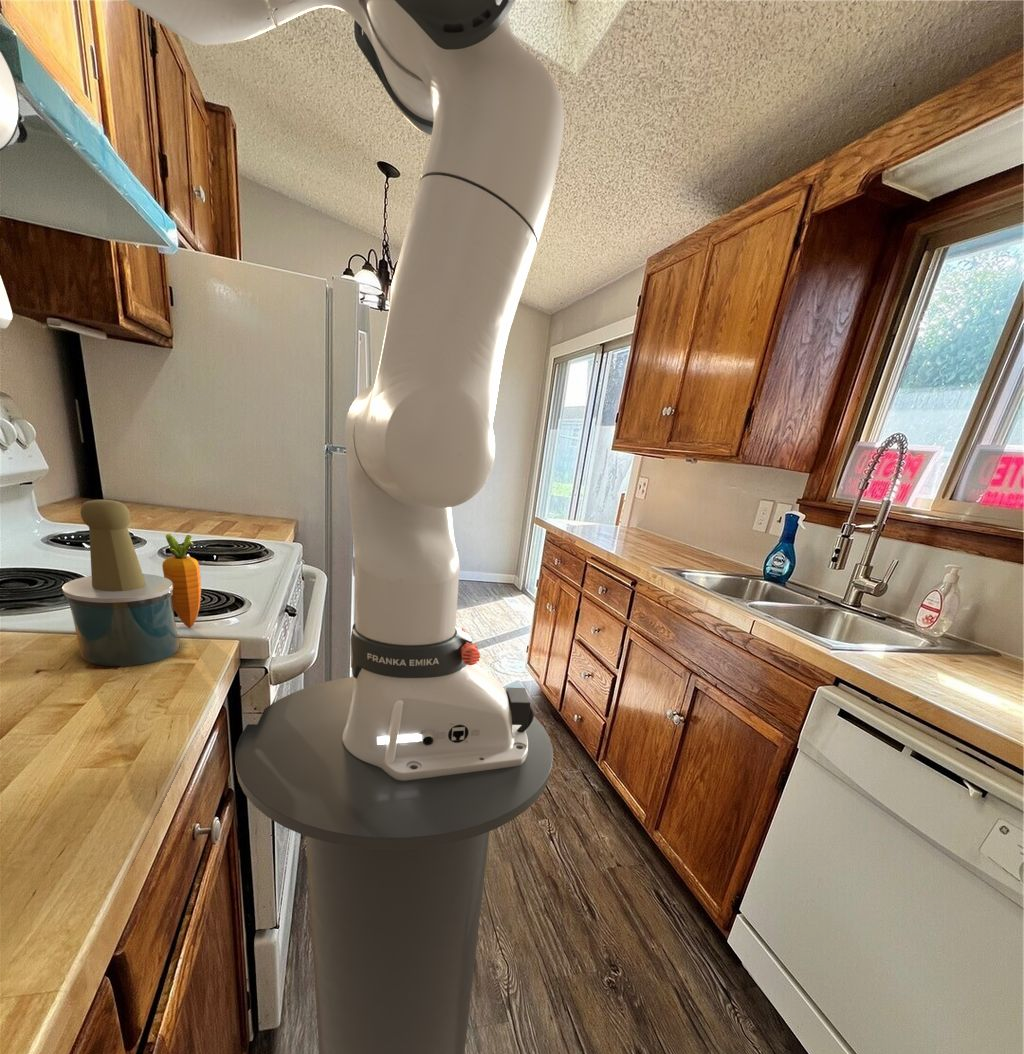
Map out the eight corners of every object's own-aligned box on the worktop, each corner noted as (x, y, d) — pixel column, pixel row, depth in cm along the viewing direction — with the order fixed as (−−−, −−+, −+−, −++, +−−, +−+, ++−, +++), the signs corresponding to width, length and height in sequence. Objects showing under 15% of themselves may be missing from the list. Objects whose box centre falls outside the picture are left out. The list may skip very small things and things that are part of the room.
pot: (194, 636, 86) (185, 575, 82) (163, 668, 75) (152, 600, 71) (103, 633, 83) (90, 570, 79) (58, 666, 72) (40, 595, 68)
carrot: (203, 620, 92) (191, 529, 86) (210, 630, 89) (198, 535, 83) (168, 624, 89) (153, 530, 83) (175, 634, 86) (160, 536, 79)
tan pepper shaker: (99, 578, 76) (82, 495, 72) (150, 579, 79) (136, 498, 74) (86, 591, 71) (66, 502, 67) (140, 591, 74) (125, 505, 69)
